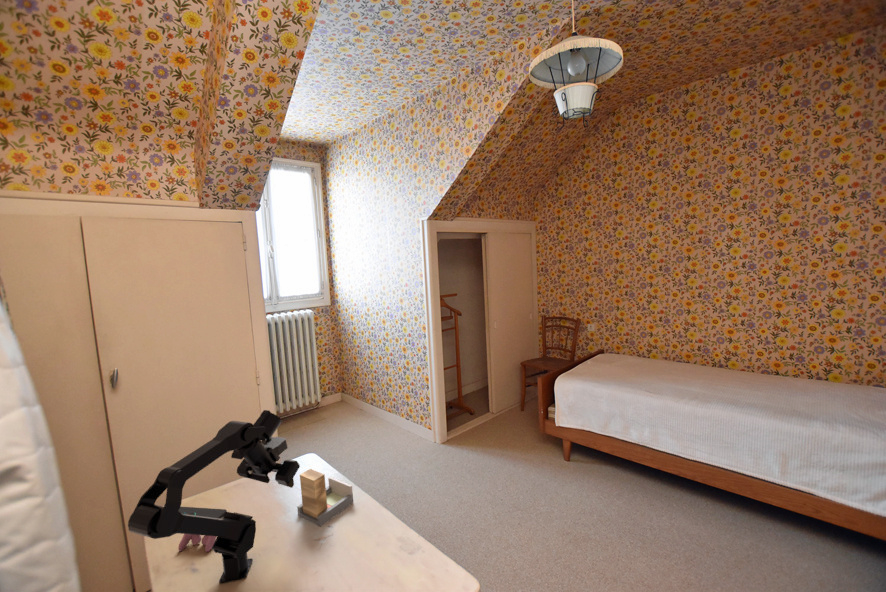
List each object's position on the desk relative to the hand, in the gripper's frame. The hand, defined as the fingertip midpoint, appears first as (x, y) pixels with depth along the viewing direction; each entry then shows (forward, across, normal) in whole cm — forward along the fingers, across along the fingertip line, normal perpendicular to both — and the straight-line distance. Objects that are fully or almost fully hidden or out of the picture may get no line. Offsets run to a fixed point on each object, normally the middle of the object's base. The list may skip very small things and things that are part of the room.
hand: (280, 483), depth 118 cm
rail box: (+18, -7, -3) cm, 19 cm away
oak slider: (+14, -6, 0) cm, 16 cm away
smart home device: (+10, +33, +12) cm, 37 cm away
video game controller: (+6, +19, +19) cm, 27 cm away
